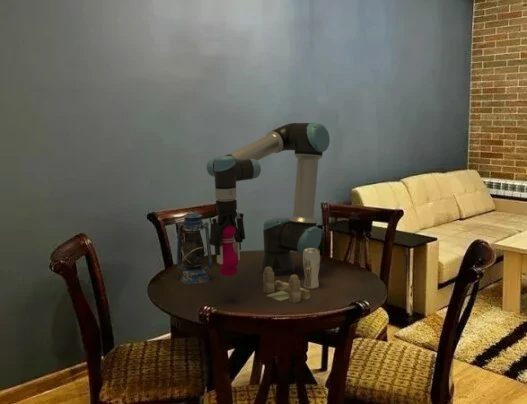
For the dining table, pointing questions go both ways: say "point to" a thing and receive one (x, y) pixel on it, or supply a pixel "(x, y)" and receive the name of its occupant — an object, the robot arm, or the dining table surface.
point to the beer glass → (311, 267)
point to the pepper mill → (228, 252)
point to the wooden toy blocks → (284, 287)
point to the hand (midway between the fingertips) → (228, 261)
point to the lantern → (193, 249)
